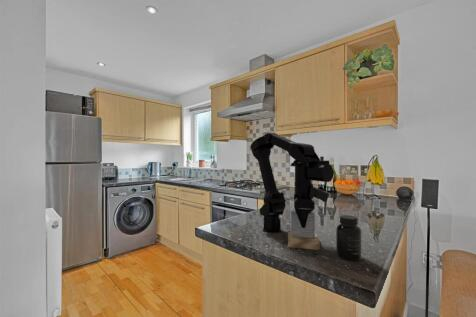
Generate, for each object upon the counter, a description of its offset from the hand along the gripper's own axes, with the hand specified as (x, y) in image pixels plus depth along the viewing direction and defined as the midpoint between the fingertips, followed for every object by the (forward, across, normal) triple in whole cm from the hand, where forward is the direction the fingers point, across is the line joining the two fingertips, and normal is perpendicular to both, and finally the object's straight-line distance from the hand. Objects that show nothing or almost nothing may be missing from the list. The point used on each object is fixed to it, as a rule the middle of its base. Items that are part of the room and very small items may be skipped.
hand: (302, 223), depth 78 cm
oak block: (+7, 0, 0) cm, 7 cm away
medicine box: (+4, 0, 0) cm, 5 cm away
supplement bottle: (+7, -8, -13) cm, 17 cm away
